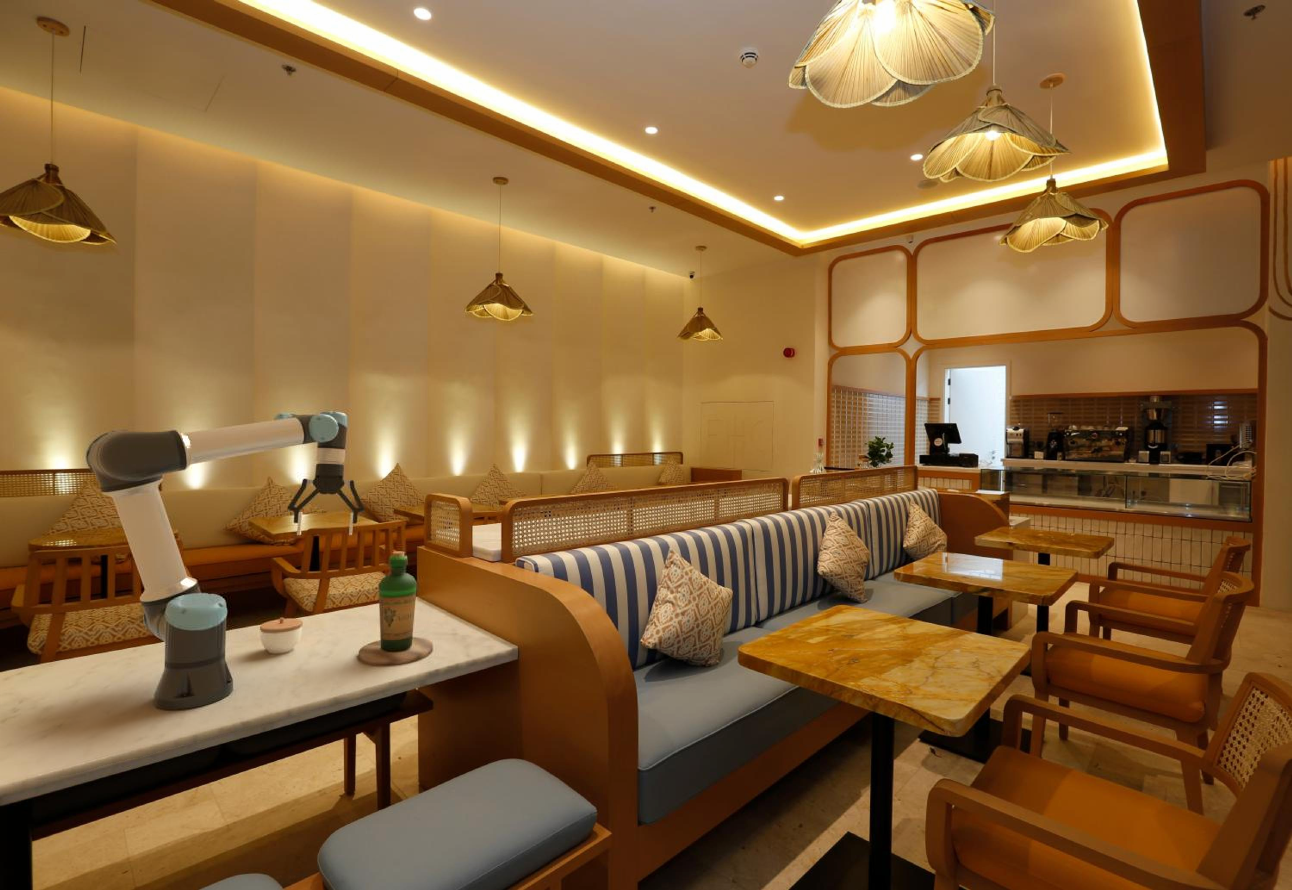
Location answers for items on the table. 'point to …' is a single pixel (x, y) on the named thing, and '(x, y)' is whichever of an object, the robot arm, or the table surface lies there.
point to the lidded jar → (281, 634)
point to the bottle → (397, 605)
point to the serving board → (395, 653)
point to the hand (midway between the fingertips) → (325, 534)
